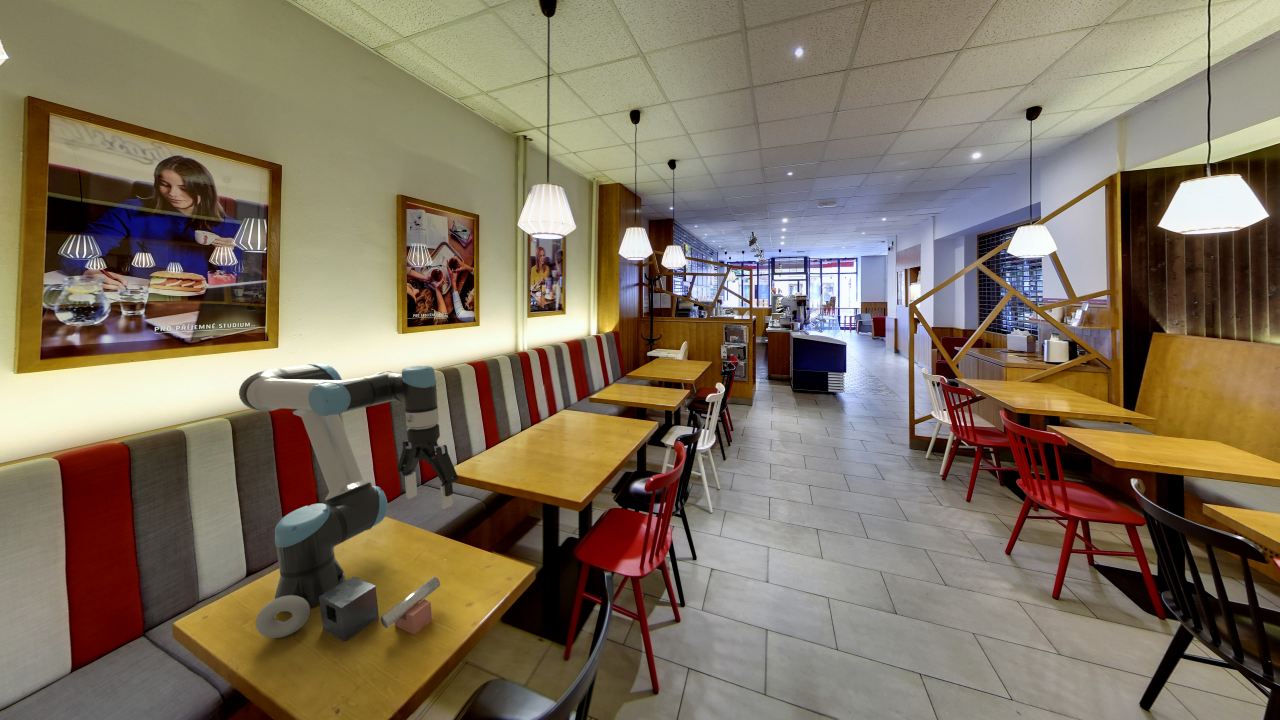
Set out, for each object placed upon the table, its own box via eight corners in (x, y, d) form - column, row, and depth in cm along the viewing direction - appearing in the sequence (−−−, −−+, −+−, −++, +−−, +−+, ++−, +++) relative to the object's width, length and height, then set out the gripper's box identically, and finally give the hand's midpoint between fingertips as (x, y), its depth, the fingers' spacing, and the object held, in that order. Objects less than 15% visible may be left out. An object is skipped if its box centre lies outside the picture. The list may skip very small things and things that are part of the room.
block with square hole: (322, 629, 98) (318, 596, 97) (356, 607, 105) (353, 576, 104) (345, 642, 95) (341, 607, 93) (379, 618, 102) (375, 585, 101)
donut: (256, 648, 93) (250, 609, 92) (261, 637, 96) (255, 600, 95) (310, 632, 98) (305, 595, 96) (313, 622, 101) (309, 586, 99)
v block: (394, 625, 99) (392, 607, 99) (413, 611, 104) (411, 594, 103) (413, 634, 97) (412, 616, 96) (432, 619, 101) (430, 601, 100)
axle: (380, 624, 94) (380, 614, 94) (432, 584, 107) (432, 574, 106) (389, 630, 93) (388, 619, 92) (440, 588, 106) (440, 579, 105)
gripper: (377, 423, 106) (385, 499, 109) (444, 435, 96) (451, 518, 99) (404, 416, 113) (410, 487, 116) (469, 426, 103) (474, 504, 106)
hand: (429, 501), depth 107 cm, fingers open, 13 cm apart
